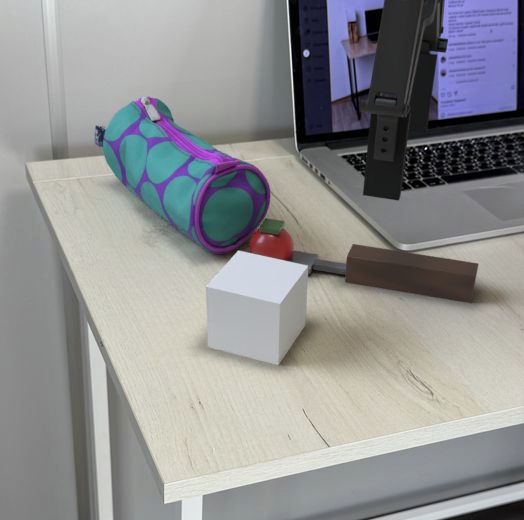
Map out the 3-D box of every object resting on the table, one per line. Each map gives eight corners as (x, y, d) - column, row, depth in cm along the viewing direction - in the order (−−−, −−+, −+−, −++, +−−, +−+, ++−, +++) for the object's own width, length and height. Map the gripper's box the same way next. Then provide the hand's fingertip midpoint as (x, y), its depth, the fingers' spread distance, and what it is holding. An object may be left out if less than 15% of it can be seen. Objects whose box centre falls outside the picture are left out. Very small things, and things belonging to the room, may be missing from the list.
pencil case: (98, 185, 93) (89, 97, 88) (172, 167, 97) (167, 81, 92) (195, 271, 79) (191, 172, 74) (276, 246, 83) (279, 150, 78)
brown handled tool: (474, 288, 78) (482, 244, 75) (469, 311, 75) (477, 267, 72) (254, 252, 82) (254, 210, 80) (241, 273, 79) (241, 230, 77)
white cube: (305, 329, 72) (308, 265, 69) (278, 369, 68) (280, 304, 64) (238, 312, 74) (238, 249, 70) (207, 351, 70) (205, 286, 66)
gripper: (407, -162, 69) (380, 102, 81) (335, -116, 50) (314, 221, 62) (504, -157, 67) (462, 112, 80) (469, -107, 48) (420, 238, 60)
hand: (397, 160), depth 71 cm, fingers open, 13 cm apart
